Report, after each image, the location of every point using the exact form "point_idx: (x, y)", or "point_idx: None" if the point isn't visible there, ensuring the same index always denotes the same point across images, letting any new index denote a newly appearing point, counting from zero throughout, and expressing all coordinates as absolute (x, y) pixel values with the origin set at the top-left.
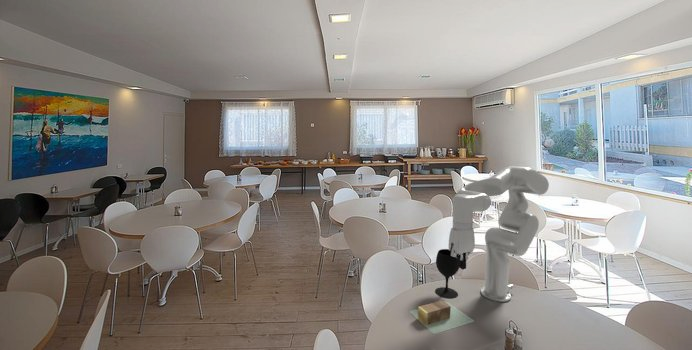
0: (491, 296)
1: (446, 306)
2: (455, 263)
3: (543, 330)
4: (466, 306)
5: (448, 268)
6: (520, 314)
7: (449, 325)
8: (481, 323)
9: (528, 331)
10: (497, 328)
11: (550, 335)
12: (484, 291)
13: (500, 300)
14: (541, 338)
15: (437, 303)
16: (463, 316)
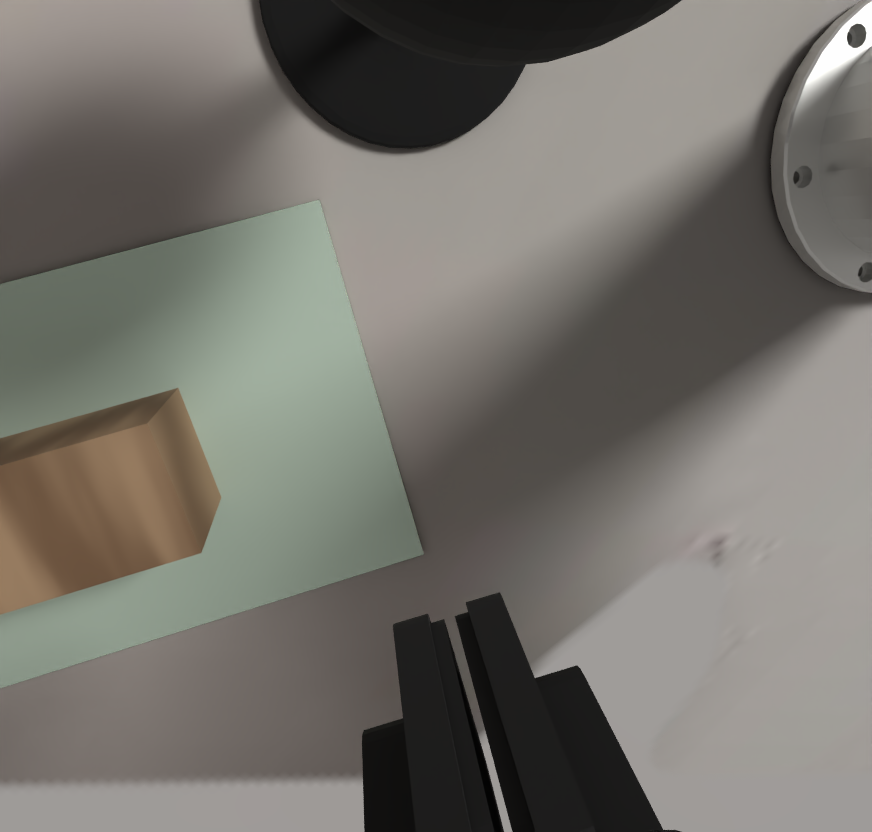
0: (822, 217)
1: (152, 548)
2: (609, 19)
3: (827, 659)
4: (485, 314)
5: (390, 30)
6: (842, 480)
7: (170, 596)
8: (466, 569)
9: (729, 666)
10: (548, 630)
11: (823, 703)
12: (830, 100)
13: (850, 288)
14: (747, 728)
15: (60, 483)
16: (361, 482)
